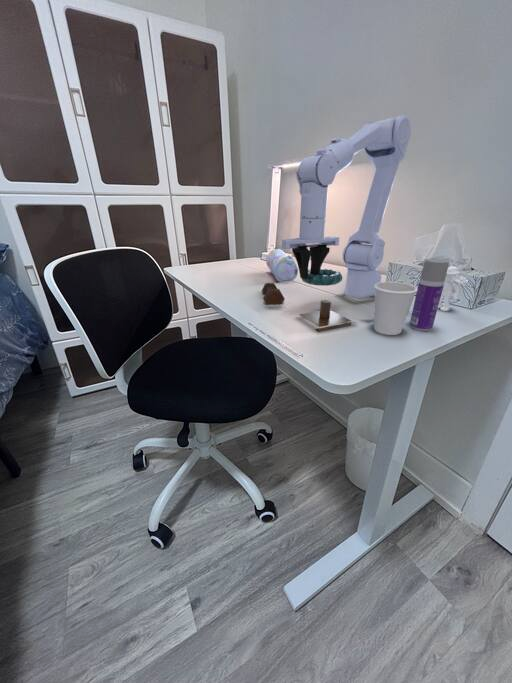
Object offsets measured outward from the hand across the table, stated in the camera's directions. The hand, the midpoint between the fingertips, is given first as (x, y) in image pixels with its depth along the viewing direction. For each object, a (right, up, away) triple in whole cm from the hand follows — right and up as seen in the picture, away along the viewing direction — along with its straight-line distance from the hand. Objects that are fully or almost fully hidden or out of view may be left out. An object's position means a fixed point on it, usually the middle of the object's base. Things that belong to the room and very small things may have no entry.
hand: (308, 277), depth 72 cm
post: (+3, -11, -1) cm, 12 cm away
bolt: (-8, -4, +15) cm, 17 cm away
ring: (+3, +1, +1) cm, 4 cm away
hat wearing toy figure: (+37, -7, +7) cm, 38 cm away
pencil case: (-4, +9, +42) cm, 43 cm away
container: (+25, -13, -5) cm, 28 cm away
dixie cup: (+17, -13, -6) cm, 22 cm away
